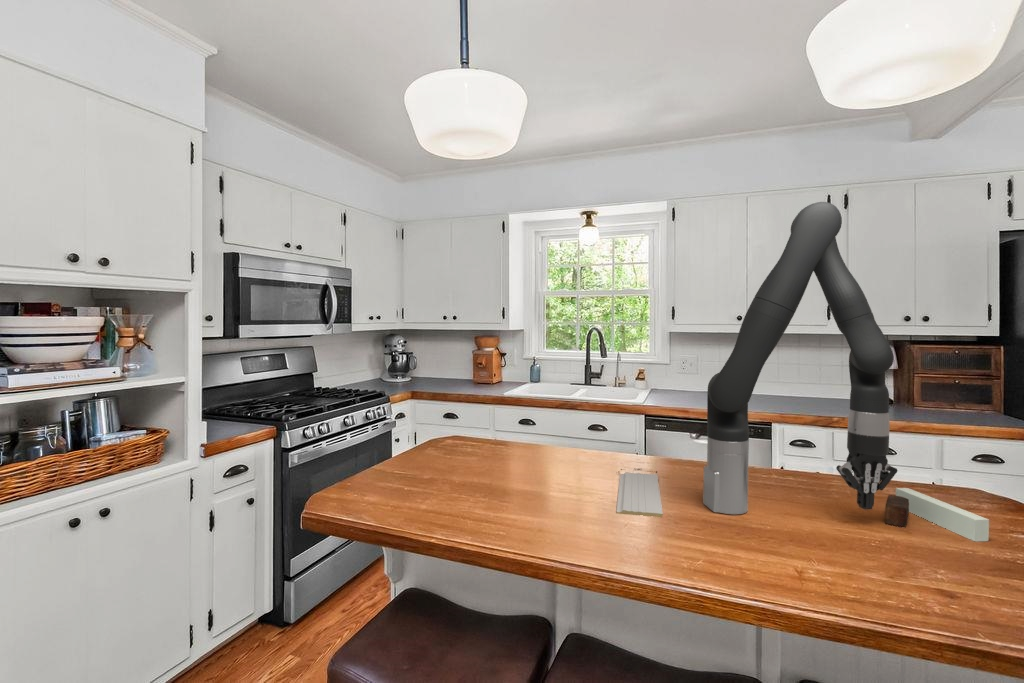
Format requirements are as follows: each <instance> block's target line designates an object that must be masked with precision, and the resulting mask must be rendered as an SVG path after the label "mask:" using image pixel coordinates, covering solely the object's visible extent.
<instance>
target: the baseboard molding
mask: <svg viewBox="0 0 1024 683" xmlns="http://www.w3.org/2000/svg"><path fill="white" fill-rule="evenodd" d="M620 470H621V471H622V470H625V469H622V468H620ZM620 470H618V471H617V473H618V474H617V475H619V484H618V493H617V502H616V513H615V514H620V515H630V516H640V515H643V516H642V517H651V516H653V518H654V517H655V518H663V514H664V513H663V506H662V499H661V492H660V485H659V479H658V478H659V477H658V476H659V475H658V474H654V473H652V471H648V472H651V473H639V472H628V471H627V472H626V471H625V472H624V473H620V472H621V471H620ZM634 471H641V468H634ZM655 473H658V471H655Z"/></svg>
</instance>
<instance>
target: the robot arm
mask: <svg viewBox="0 0 1024 683" xmlns="http://www.w3.org/2000/svg"><path fill="white" fill-rule="evenodd" d="M842 222H843V219H842V213H841V212H840V210H839V209H838V207H837V206H836V205H835V204H834V203H831V202H828V201H819V202H818V201H817V202H815V203H810V204H809V205H806V206H805V207H803V209H801V210H800V211H799V212H798V213H797V215H796V216H795V217H794V219H793V220H792V222H791V225H790V235H789V237H788V240H787V241H786V242H787V243H786V245H785V248H784V249H783V251H782V253H781V255H780V257H779V259H778V261H777V262H776V264H775V265H774V266H773V268H772V270H770V272H769V273H768V275H767V276H766V277H765V279H764V280H763V282H762V284H761V285H760V286H759V289H758V290H757V291H756V293H755V295H754V297H753V299H752V301H751V303H750V305H749V307H748V309H747V311H746V313H745V315H744V318H743V320H742V322H741V325H740V328H739V331H738V335H737V336H736V337H737V338H736V341H735V345H734V347H733V349H732V351H731V353H730V356H729V357H728V358H727V359H726V362H725V363H724V365H723V367H722V368H721V370H720V371H719V372H717V373H715V374H714V375H713V376H712V377H711V378H710V380H709V382H708V385H707V392H706V393H707V396H706V397H707V399H706V402H707V406H706V408H707V409H706V410H707V414H706V415H707V417H706V418H707V420H706V427H707V434H706V436H707V443H706V444H707V445H706V446H707V447H706V448H707V449H706V450H707V452H706V454H707V456H706V458H707V459H706V465H704V466H703V486H702V487H703V490H702V492H703V494H702V495H703V497H702V502H703V503H702V504H703V505H705V506H706V507H707V508H708V509H709V510H711V511H712V512H713V513H721V514H727V515H743V514H746V513H747V512H748V508H749V458H750V457H749V456H750V455H749V453H750V452H749V451H750V450H749V449H750V448H749V447H750V444H749V443H750V439H749V438H750V428H749V416H748V415H749V402H750V400H751V398H752V395H753V392H754V389H755V387H756V384H757V381H758V379H759V376H760V374H761V372H762V369H763V367H764V366H765V364H766V362H767V360H768V359H769V357H770V356H771V355H772V353H773V351H775V350H774V349H775V348H776V346H777V345H778V344H779V341H780V340H781V338H782V337H783V335H784V333H785V331H786V330H787V329H788V326H789V325H790V323H791V321H792V319H793V317H794V315H795V313H796V311H797V309H798V308H799V305H800V303H801V301H802V299H803V297H804V295H805V292H806V289H807V287H808V286H809V282H810V279H811V277H812V275H813V273H814V275H815V277H816V280H817V281H818V282H819V285H820V288H821V290H822V293H823V295H824V298H825V300H826V302H827V305H828V307H829V310H830V312H831V314H832V317H833V319H834V321H835V324H836V325H837V326H836V327H837V328H838V330H839V332H841V334H842V335H843V336H844V337H845V339H846V342H847V344H848V346H849V349H850V352H849V355H848V368H849V380H850V392H849V393H850V394H849V395H850V396H849V412H848V416H847V417H848V419H847V440H846V441H847V444H846V449H847V451H848V455H847V457H846V462H845V463H844V464H842V465H840V464H838V465H837V466H836V467H835V468H836V469H835V470H836V471H837V472H838V473H839V475H840V477H842V479H843V480H844V481H845V483H846V484H847V485H848V487H849V488H852V489H854V490H856V495H857V496H856V499H857V500H856V504H857V505H858V507H859V508H861V509H863V510H865V511H866V510H872V509H873V508H874V506H875V494H876V492H877V491H883V490H884V489H885V488H886V487H887V486H888V484H889V483H890V482H891V480H892V479H893V478H894V476H895V475H896V474H897V473H898V469H897V468H896V467H893V466H892V465H891V464H889V463H888V462H889V461H888V458H887V455H889V452H890V450H889V448H890V425H891V424H890V416H889V412H890V392H889V389H888V387H887V384H886V372H887V371H888V370H889V369H890V368H892V366H893V364H894V360H895V359H894V358H895V357H894V352H893V349H892V347H891V345H890V343H889V341H888V338H886V336H885V334H884V332H883V331H882V329H881V327H879V325H878V323H877V321H876V319H875V316H874V313H873V311H872V309H871V306H870V305H869V302H868V299H867V297H866V295H865V293H864V291H863V290H862V288H861V286H860V284H859V283H858V281H857V280H856V278H855V276H853V274H852V273H851V271H850V270H849V269H848V267H847V265H846V263H845V261H844V259H843V257H842V255H841V252H840V250H839V246H838V243H837V238H836V237H837V236H838V235H839V233H840V231H841V228H842V224H843V223H842Z"/></svg>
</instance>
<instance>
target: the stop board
mask: <svg viewBox="0 0 1024 683" xmlns="http://www.w3.org/2000/svg"><path fill="white" fill-rule="evenodd" d="M895 495H896V496H901V497H904V498H907V499H909V512H911V513H910V514H912V513H913V514H912V515H914V514H915V515H914V516H916V515H917V517H918V516H919V517H918V518H921V517H922V518H921V519H923V518H924V519H923V520H925V519H926V520H925V521H927V520H928V522H930V523H932V522H933V524H934V523H935V524H934V525H936V524H937V525H936V526H939V527H941V528H944V529H945V528H946V529H945V530H948V531H950V532H953V533H954V534H957V535H960V536H961V537H963V538H966V539H968V540H969V541H973V542H989V541H990V540H989V535H990V534H989V532H990V519H989V518H985V517H983V516H981V515H978V514H976V513H973V512H972V511H971V512H970V511H968V510H966V509H963V508H960V507H958V506H956V505H952V504H950V503H948V502H945V501H942V500H941V499H940V500H939V499H937V498H934V497H932V496H929V495H927V494H924V493H922V492H919V491H916V490H915V489H911V488H908V487H895Z"/></svg>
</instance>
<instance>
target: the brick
mask: <svg viewBox="0 0 1024 683" xmlns="http://www.w3.org/2000/svg"><path fill="white" fill-rule="evenodd" d="M908 519H909V499H907V498H904V497H901V496H896V494H888V495H887V498H886V501H885V506H884V524H885V525H887V524H888V525H887V526H892V525H893V527H897V526H898V527H897V528H902V527H905V528H906V526H907V523H908Z"/></svg>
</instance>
